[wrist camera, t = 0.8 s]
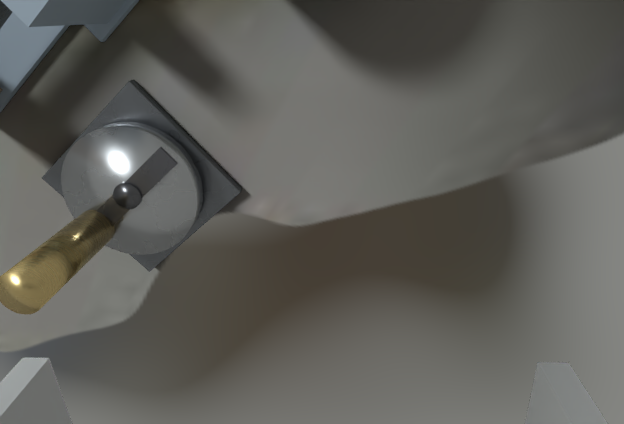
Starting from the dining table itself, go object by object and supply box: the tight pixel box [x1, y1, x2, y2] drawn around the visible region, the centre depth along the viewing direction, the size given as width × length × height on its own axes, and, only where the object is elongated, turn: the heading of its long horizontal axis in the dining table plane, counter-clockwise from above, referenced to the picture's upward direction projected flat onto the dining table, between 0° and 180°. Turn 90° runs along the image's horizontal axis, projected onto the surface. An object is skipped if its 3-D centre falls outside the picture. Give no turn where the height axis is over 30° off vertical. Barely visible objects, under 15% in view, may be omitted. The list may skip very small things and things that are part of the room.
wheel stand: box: [42, 80, 242, 272], centre depth 35 cm, size 11×11×1 cm
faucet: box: [0, 122, 203, 314], centre depth 30 cm, size 10×10×11 cm
